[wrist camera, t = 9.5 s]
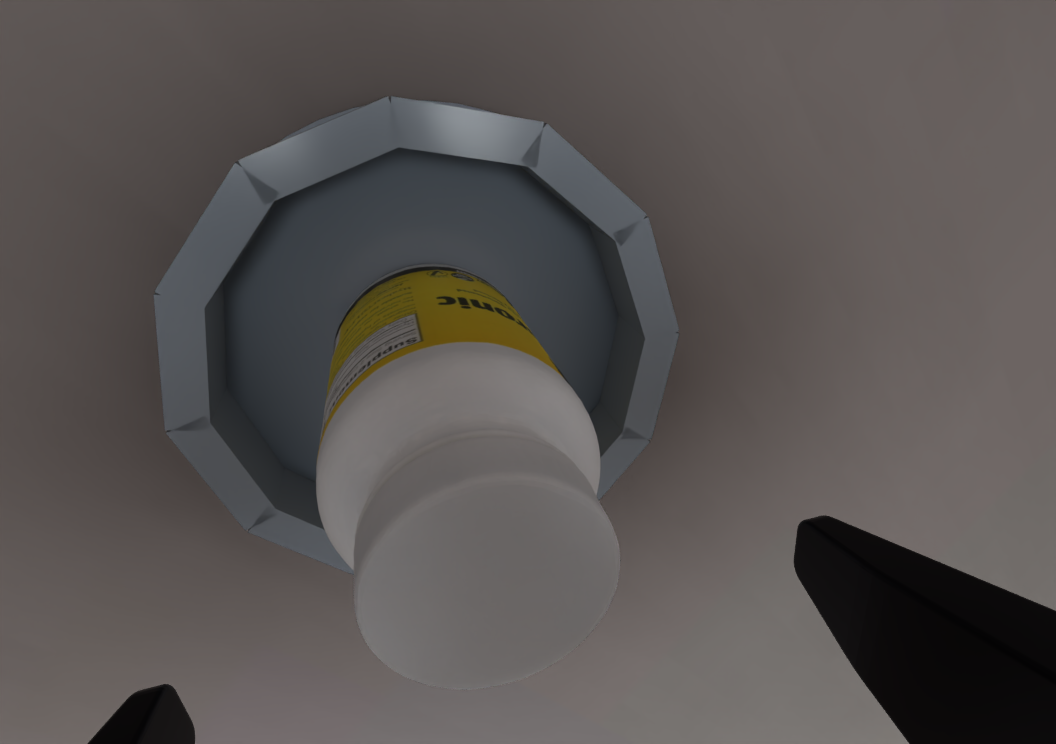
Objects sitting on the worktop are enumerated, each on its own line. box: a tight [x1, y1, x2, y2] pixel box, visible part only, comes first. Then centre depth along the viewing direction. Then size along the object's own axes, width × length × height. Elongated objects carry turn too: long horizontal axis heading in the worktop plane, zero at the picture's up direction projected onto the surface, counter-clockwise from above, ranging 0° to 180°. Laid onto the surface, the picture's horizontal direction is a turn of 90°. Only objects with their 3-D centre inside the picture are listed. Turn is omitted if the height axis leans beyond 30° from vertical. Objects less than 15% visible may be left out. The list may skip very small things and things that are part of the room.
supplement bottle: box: [316, 264, 621, 690], centre depth 13 cm, size 5×5×10 cm
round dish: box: [154, 96, 679, 575], centre depth 17 cm, size 13×13×3 cm
